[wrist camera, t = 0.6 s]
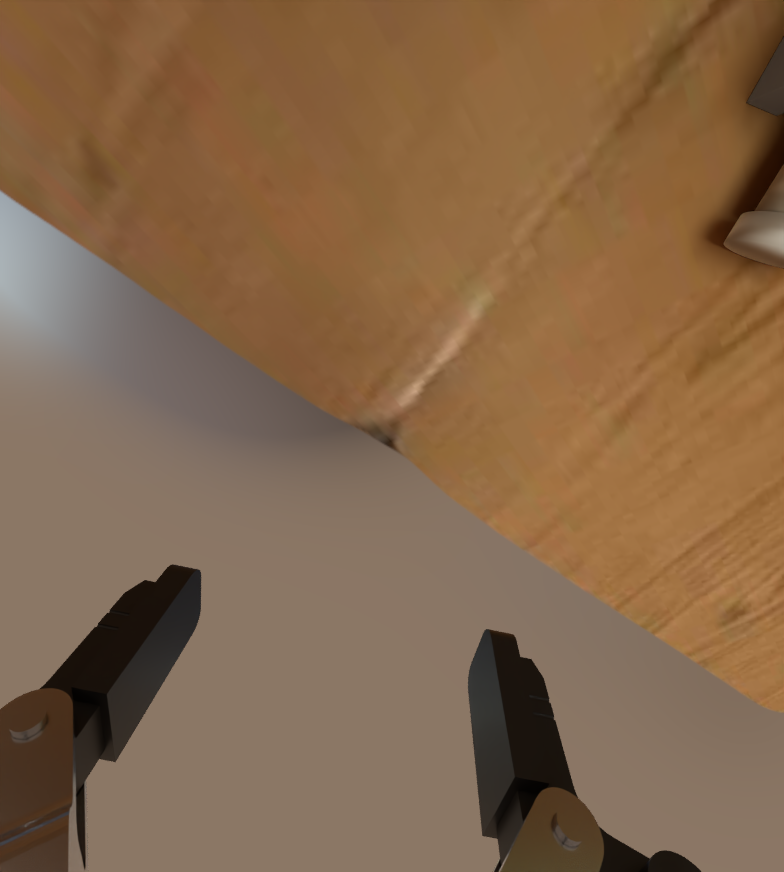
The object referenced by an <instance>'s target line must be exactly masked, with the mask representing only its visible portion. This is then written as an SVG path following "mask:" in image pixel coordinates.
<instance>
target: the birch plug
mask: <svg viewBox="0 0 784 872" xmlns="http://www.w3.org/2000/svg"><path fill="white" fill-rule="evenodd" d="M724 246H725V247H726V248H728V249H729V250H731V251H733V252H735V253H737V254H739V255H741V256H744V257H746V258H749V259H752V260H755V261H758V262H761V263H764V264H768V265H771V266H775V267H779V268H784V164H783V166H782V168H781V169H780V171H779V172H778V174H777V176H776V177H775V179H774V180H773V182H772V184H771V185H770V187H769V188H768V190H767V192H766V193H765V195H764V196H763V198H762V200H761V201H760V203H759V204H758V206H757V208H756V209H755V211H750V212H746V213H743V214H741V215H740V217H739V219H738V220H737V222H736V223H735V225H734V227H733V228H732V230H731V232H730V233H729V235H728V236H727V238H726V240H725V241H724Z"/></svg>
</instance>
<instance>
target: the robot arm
mask: <svg viewBox="0 0 784 872" xmlns="http://www.w3.org/2000/svg"><path fill="white" fill-rule="evenodd" d="M200 610H201V572H200V570H198V569H193V568H188V567H183V566H178V565H170V566H169V567H167V569H166V570H165V571H164V572H163V574H162V575H161V576H160V577H159V578H158V580H157V581H156V582H151V581H147V580H144V581H143V582H141V583H140V584H138V585H136V586H135V587H133V588H132V589H130V590H129V591H127V592H125V593H124V594H123V595H122V597H121V598H120V599H119V600H118V601H117V602H116V603H115V605H114V606H113V607H112V608H111V609H110V612H109V613H107V614H106V615H105V616H104V617H103V618H102V620H101V621H100V622H99V623H98V626H97V627H95V628H94V629H93V630H92V631H91V632H90V633H89V635H88V636H87V637H86V638H85V639H84V640H83V641H82V643H81V644H80V645H79V646H78V647H77V648H76V649H75V651H74V652H73V653H72V654H71V655H70V656H69V658H68V659H67V660H66V661H65V662H64V663H63V665H62V666H61V667H60V668H59V669H58V670H57V671H56V673H55V674H54V675H53V676H52V677H51V678H50V679H49V680H48V681H47V682H46V684H45V685H44V686H43V687H41V688H40V689H39V690H35V691H31V692H29V693H26V694H23V695H22V696H19V697H17V698H15V699H14V700H12V701H11V702H9V703H8V704H6V705H5V706H4V707H3V708H1V709H0V872H88V833H87V789H86V788H87V787H86V779H87V777H88V775H89V774H90V772H91V771H92V769H93V768H94V766H95V764H96V763H97V761H98V760H99V759H103V760H108V761H113V762H116V760H117V759H118V757H119V755H120V753H121V752H122V750H123V749H124V747H125V745H126V744H127V742H128V740H129V738H130V737H131V735H132V734H133V732H134V730H135V729H136V727H137V725H138V724H139V722H140V720H141V719H142V717H143V715H144V714H145V712H146V710H147V709H148V707H149V705H150V704H151V702H152V700H153V699H154V697H155V695H156V694H157V692H158V690H159V689H160V687H161V685H162V684H163V682H164V681H165V679H166V677H167V676H168V674H169V672H170V671H171V669H172V667H173V665H174V664H175V662H176V661H177V659H178V657H179V656H180V654H181V652H182V651H183V649H184V647H185V645H186V644H187V642H188V641H189V639H190V637H191V636H192V634H193V632H194V630H195V628H196V625H197V623H198V620H199V616H200ZM468 693H469V703H470V713H471V723H472V734H473V744H474V754H475V764H476V774H477V785H478V795H479V805H480V815H481V825H482V835H483V836H487V837H492V838H497V839H498V844H499V852H500V859H499V860H498V862H497V864H496V866H495V868H494V870H493V872H701V871H700V870H699V869H698V868H697V867H696V866H695V865H694V864H692V862H690V861H689V860H687V859H686V858H685V857H683V856H681V855H679V854H677V853H674V852H671V851H659V852H657V853H655V854H654V855H653V856H652V857H651V858H650V859H649V858H647V857H646V856H644V855H643V854H641V853H639V852H637V851H636V850H634V849H632V848H630V847H629V846H627V845H625V844H624V843H622V842H620V841H618V840H617V839H615V838H613V837H612V836H610V835H609V834H607V833H606V832H605V831H604V830H602V829H601V828H600V827H599V826H598V824H597V822H596V820H595V818H594V816H593V815H592V813H591V812H590V810H589V809H588V808H587V807H586V806H585V804H584V803H583V802H582V801H581V800H579V799H578V797H577V795H576V792H575V790H574V786H573V783H572V779H571V776H570V772H569V768H568V765H567V761H566V757H565V754H564V751H563V747H562V743H561V739H560V736H559V732H558V729H557V725H556V722H555V720H554V714H553V710H552V707H551V703H549V696H548V692H547V689H546V685H545V681H544V678H543V677H542V675H541V674H540V672H539V671H538V669H537V667H536V666H535V664H534V663H533V661H532V660H531V659H528V658H523V657H520V654H519V650H518V645H517V641H516V638H515V636H514V635H513V634H509V633H504V632H498V631H493V630H489V629H486V630H485V631H484V633H483V636H482V638H481V641H480V643H479V646H478V648H477V651H476V653H475V656H474V658H473V661H472V664H471V666H470V670H469V677H468Z"/></svg>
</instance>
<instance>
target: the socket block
mask: <svg viewBox="0 0 784 872" xmlns="http://www.w3.org/2000/svg"><path fill="white" fill-rule="evenodd" d="M747 103H748V104H751V105H753V106H755V107H757V108H760V109H762V110H764V111H767V112H769V113H771V114H774V115H776V116H777V115H780V114H783V113H784V37H783V39H782V41H781V42H780V44H779V46H778V48H777V49H776V51H775V53H774V55H773V57H772V58H771V60H770V62H769V64H768V65H767V67H766V69H765V71H764V73H763V74H762V76H761V78H760V80H759V81H758V83H757V85H756V87H755V88H754V90H753V92H752V94H751V96H750V97H749V99H748V101H747Z"/></svg>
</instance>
